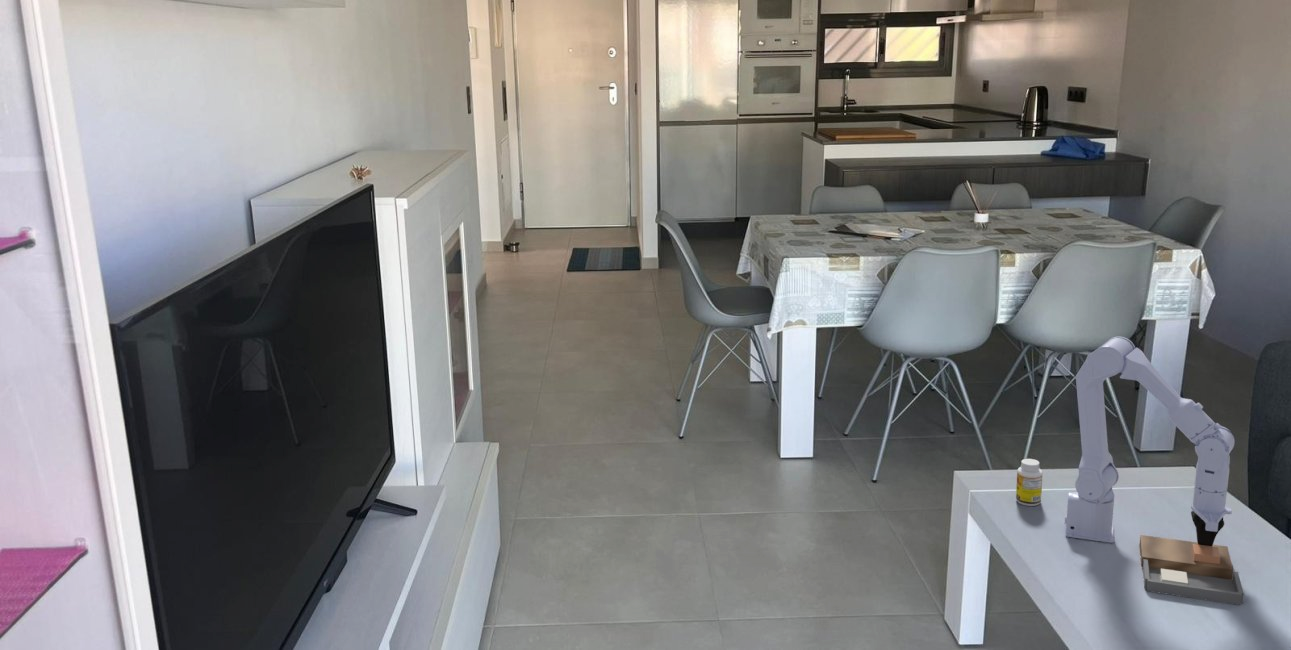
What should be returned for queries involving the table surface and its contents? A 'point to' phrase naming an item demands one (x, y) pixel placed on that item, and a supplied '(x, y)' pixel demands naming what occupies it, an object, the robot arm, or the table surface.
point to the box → (1196, 586)
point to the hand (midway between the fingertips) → (1204, 548)
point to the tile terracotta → (1205, 554)
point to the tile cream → (1173, 576)
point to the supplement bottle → (1029, 483)
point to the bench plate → (1182, 557)
